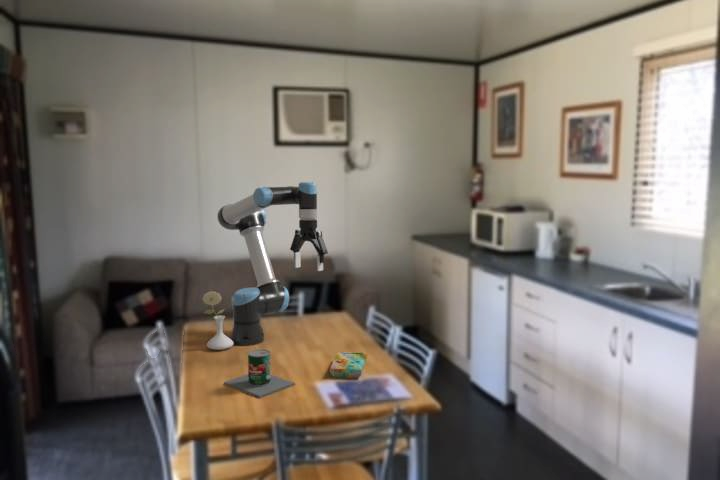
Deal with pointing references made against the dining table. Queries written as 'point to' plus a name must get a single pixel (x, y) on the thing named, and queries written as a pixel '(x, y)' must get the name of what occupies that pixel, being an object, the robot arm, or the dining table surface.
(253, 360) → the canned tomato
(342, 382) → the dining table surface
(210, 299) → the flower in vase
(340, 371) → the puzzle game
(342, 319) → the dining table surface
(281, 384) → the mat
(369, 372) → the dining table surface
